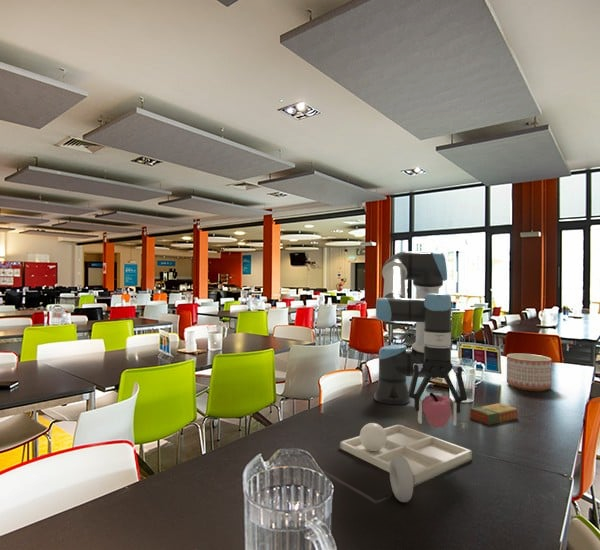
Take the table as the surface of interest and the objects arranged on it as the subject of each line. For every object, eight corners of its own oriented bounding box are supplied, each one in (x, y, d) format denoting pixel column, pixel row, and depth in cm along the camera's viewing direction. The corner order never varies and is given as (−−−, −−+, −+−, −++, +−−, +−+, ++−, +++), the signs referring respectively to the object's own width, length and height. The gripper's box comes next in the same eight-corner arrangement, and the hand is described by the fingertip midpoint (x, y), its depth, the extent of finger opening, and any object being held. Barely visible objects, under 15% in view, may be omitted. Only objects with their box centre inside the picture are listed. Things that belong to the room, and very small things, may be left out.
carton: (517, 419, 158) (517, 408, 158) (488, 426, 150) (488, 414, 150) (498, 413, 165) (498, 402, 165) (469, 418, 158) (469, 407, 158)
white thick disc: (387, 489, 103) (387, 448, 104) (401, 488, 104) (401, 448, 104) (400, 511, 94) (400, 466, 94) (415, 511, 94) (415, 466, 94)
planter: (551, 385, 208) (552, 356, 208) (550, 394, 191) (550, 362, 191) (508, 380, 218) (509, 352, 218) (504, 388, 202) (504, 357, 202)
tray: (339, 450, 127) (340, 441, 127) (398, 431, 143) (398, 424, 143) (412, 486, 105) (412, 476, 105) (471, 459, 121) (471, 450, 121)
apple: (448, 434, 116) (448, 398, 116) (417, 428, 121) (417, 393, 121) (455, 424, 124) (455, 390, 125) (426, 419, 129) (426, 386, 129)
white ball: (354, 449, 126) (354, 422, 126) (372, 443, 131) (372, 417, 131) (373, 458, 120) (373, 430, 120) (392, 451, 125) (392, 424, 125)
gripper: (400, 346, 121) (400, 425, 121) (479, 349, 118) (479, 429, 117) (398, 342, 128) (397, 416, 128) (472, 345, 125) (472, 420, 125)
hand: (436, 422), depth 123 cm, fingers closed on apple, 9 cm apart
